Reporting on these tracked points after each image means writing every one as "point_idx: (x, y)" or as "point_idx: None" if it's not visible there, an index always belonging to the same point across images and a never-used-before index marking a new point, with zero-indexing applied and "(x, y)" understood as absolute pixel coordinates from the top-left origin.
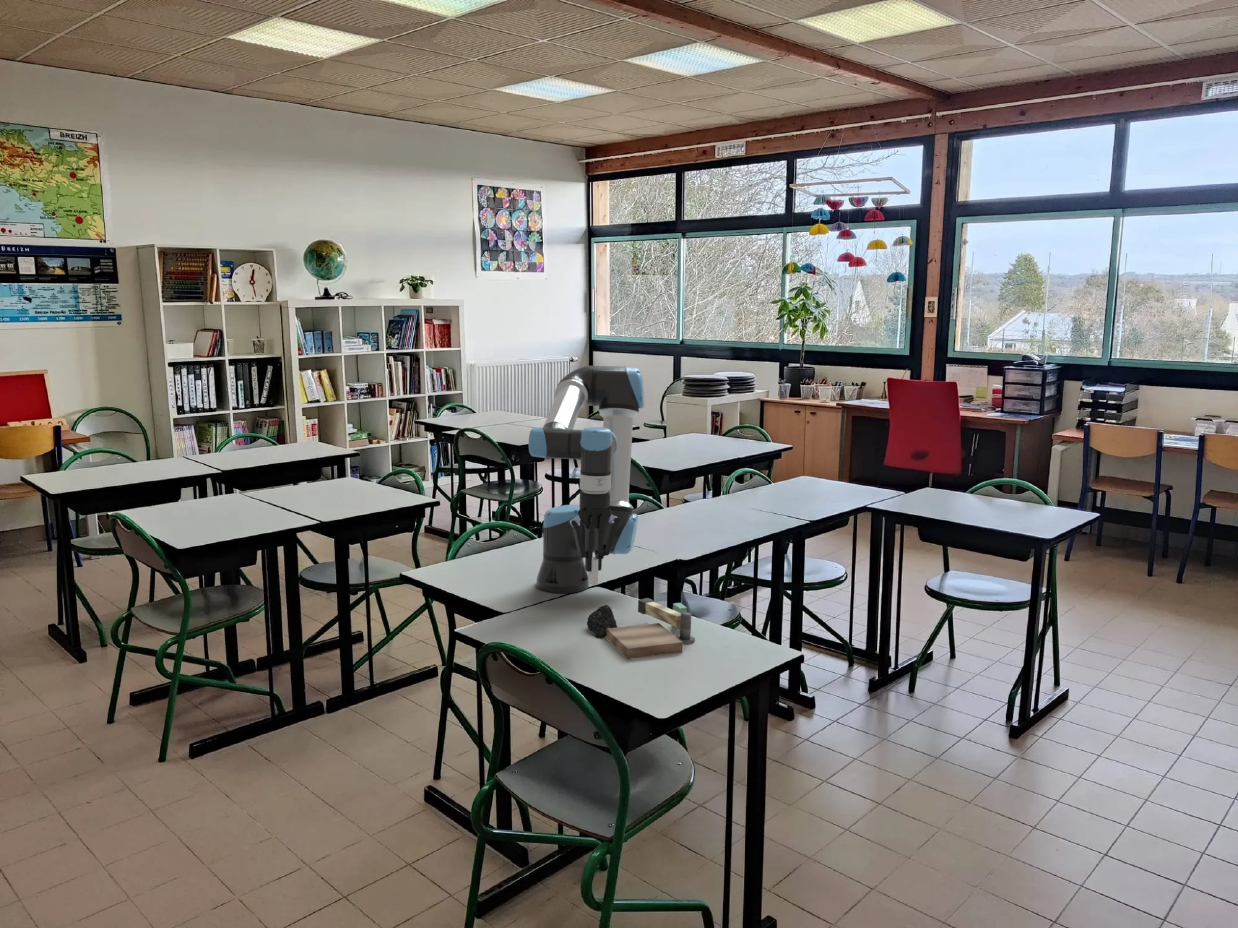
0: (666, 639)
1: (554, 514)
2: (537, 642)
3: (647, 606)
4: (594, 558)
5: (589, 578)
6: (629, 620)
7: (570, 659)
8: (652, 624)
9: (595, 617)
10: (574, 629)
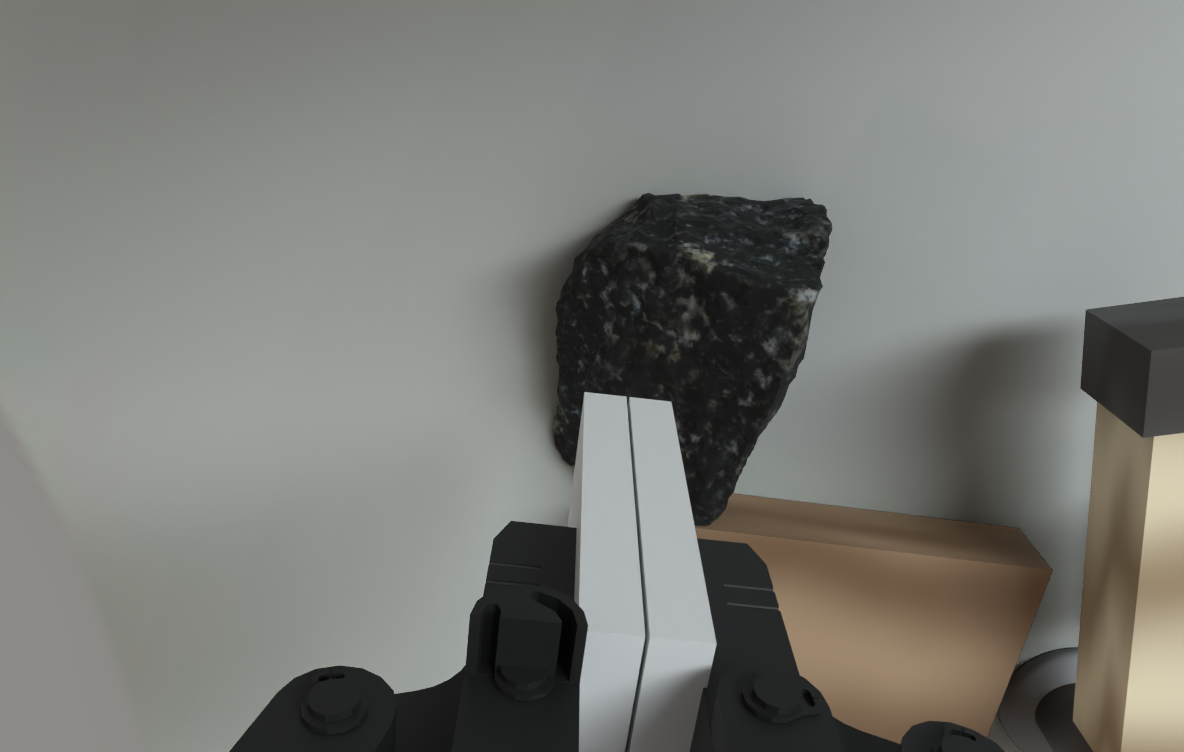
0: None
1: None
2: (98, 352)
3: (1136, 449)
4: (638, 749)
5: (577, 468)
6: (1012, 211)
7: (236, 681)
8: (987, 577)
9: (638, 317)
10: (475, 214)
